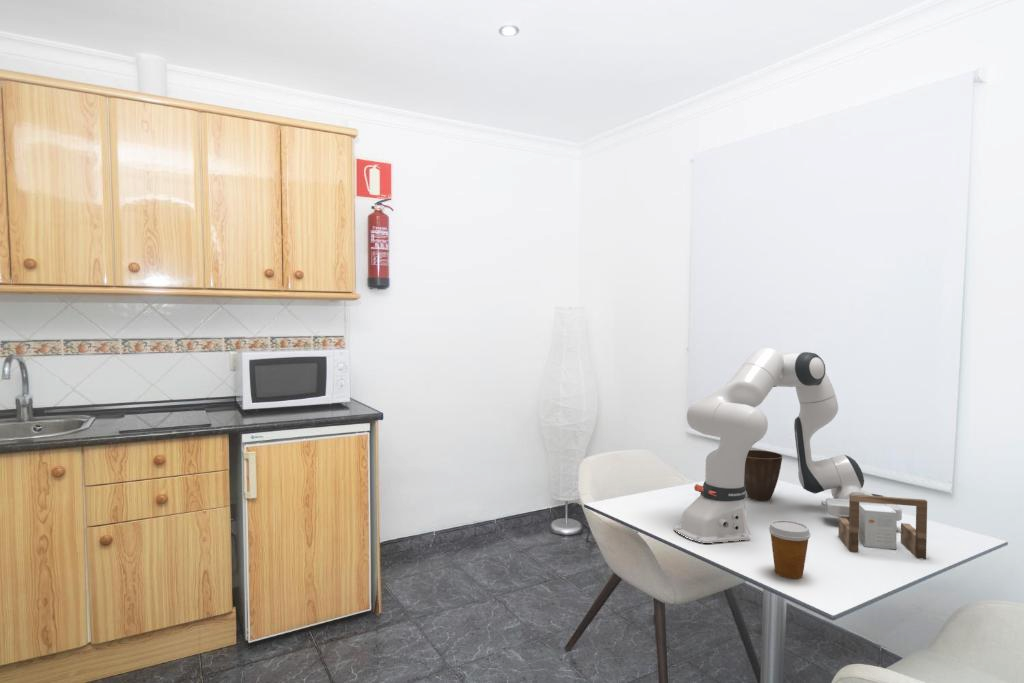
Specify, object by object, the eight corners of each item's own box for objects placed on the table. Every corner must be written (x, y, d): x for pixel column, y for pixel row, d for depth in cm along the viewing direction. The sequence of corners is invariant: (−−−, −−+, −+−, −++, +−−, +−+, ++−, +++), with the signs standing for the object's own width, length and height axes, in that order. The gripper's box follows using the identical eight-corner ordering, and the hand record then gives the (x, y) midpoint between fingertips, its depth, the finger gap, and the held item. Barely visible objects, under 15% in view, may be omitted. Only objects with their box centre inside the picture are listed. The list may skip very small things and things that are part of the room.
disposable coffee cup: (791, 584, 138) (791, 535, 138) (759, 569, 147) (760, 522, 146) (819, 577, 142) (819, 529, 142) (786, 563, 151) (787, 517, 150)
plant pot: (729, 497, 208) (729, 453, 208) (748, 489, 218) (748, 447, 218) (770, 507, 197) (771, 460, 197) (788, 498, 207) (789, 454, 207)
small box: (889, 542, 165) (890, 506, 165) (896, 550, 160) (897, 512, 159) (858, 539, 167) (858, 503, 167) (864, 546, 162) (864, 509, 162)
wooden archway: (838, 536, 170) (839, 484, 169) (908, 542, 165) (909, 489, 165) (850, 551, 158) (851, 495, 158) (926, 559, 153) (927, 501, 153)
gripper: (820, 491, 187) (830, 504, 174) (892, 496, 181) (909, 510, 168) (819, 510, 187) (830, 524, 174) (891, 516, 182) (908, 531, 168)
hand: (869, 517), depth 171 cm, fingers closed
